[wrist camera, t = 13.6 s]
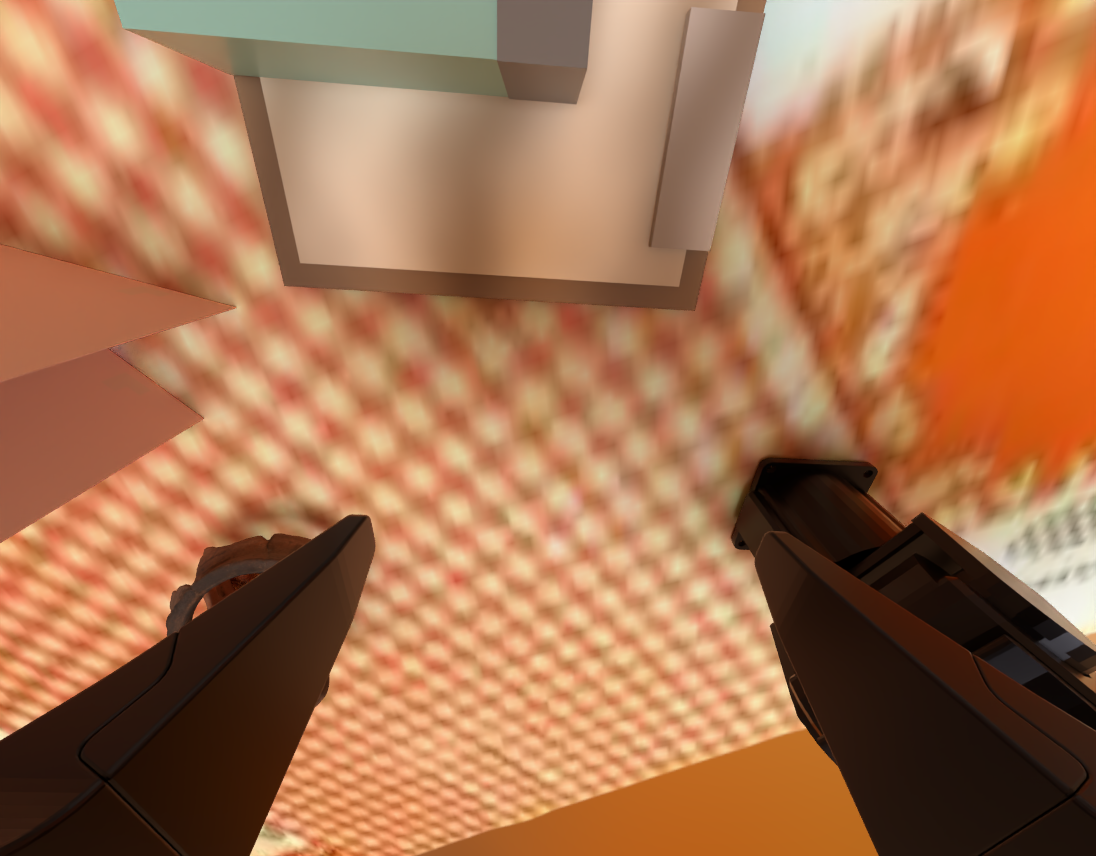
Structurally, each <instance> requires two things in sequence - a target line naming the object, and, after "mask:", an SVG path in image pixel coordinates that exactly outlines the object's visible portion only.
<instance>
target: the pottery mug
mask: <svg viewBox="0 0 1096 856" xmlns="http://www.w3.org/2000/svg"><path fill="white" fill-rule="evenodd" d="M309 541H311V539H307V538H303V537H299V536H291V535H286V534H274V535H273V536H272V537H271V539H270V540H266V539H265V538H264V537H262V536H256V537H252V538H248V539H245V540H242V541H240V542H237V543H234V544H232V545H228V546H223V547H218V548H216V547H208V548H206V549H205V550H204V553H203V556H202V558H201V559H200V562H199V565H198V568H197V573H196V578H195V581H194V583H193V584H192V586H191V585H187V584H185V585H183V586H180V587H179V588H178V589H177V591H173V593H172V596H171V601H170V609H171V613H170V614H169V616H168V617H167V620H166V627H167V636H169V635H170V634H172V633H173V632H179V629H180V628H181V627H183V626H184V625H186V624H187V623H189V622H190V621H191V620H192V618H193V614H194V611H195V609H196V607H197V605H198V603H199V602H200V600H201V599H202V598H204V600H205V603H206V605H207V610H208V609H209V608H211V607H212V606H214V605H215V604H217V603H218V602H220V601H221V600H223V599H224V598H226V597H227V596H229V595H230V594H232V593H233V592H235V591H236V590H235V588H234V587H233V585H232V582H231V580H230V579H231V578H234V577H236V576H239V575H245V574H253V573H263V572H264V571H266V570H267V569H269V568H270V567H272V566H273V565H275V564H276V563H278V562H279V561H281V560H282V559H284V558H285V557H287V556H288V555H290V554H291V553H293V552H294V551H296V550H297V549H299V548H300V547H302V546H303V545H305V544H306V543H308V542H309ZM328 687H329V676H328V678H327V680H326V683H325V685H324V687H323V690H322V692H321V694H320V696H319V699H318V701H317V703H316V706H317V705H318V704H319V703H320V702H321V700H322V699H323V698H324V697H325V695H326V694H327V691H328ZM316 706H315V707H316Z"/></svg>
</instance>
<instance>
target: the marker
mask: <svg viewBox="0 0 1096 856" xmlns="http://www.w3.org/2000/svg"><path fill="white" fill-rule="evenodd" d="M114 2H115V5H116V8H117V11H118V14H119V17H120V20H121V23H122V27H123V28H124V29H126V30H128V31H131V32H133V33H135V34H138V35H140V36H142V37H144V38H147V39H149V40H151V41H154V42H156V43H158V44H161V45H163V46H165V47H168V48H170V49H172V50H175V51H177V52H179V53H181V54H184V55H186V56H188V57H191V58H193V59H195V60H198V61H200V62H202V63H205V64H207V65H209V66H211V67H214V68H216V69H218V70H221V71H223V72H225V73H228V74H230V75H241V76H254V77H266V78H278V79H291V80H303V81H316V82H328V83H340V84H353V85H365V86H378V87H390V88H402V89H415V90H427V91H439V92H452V93H464V94H477V95H489V96H501V97H509V99H516V100H529V101H541V102H554V103H566V104H577V101H578V97H579V94H580V91H581V88H582V84H583V81H584V78H585V74H586V71H587V65H588V53H589V41H590V29H591V17H592V5H593V0H114Z"/></svg>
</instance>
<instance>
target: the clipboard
mask: <svg viewBox="0 0 1096 856" xmlns="http://www.w3.org/2000/svg"><path fill="white" fill-rule="evenodd" d="M765 4H766V0H593V5H592V17H591V29H590V41H589V53H588V65H587V71H586V74H585V78H584V81H583V84H582V88H581V91H580V94H579V97H578V101H577V104H566V103H554V102H541V101H529V100H516V99H509V97H501V96H489V95H477V94H464V93H452V92H439V91H427V90H415V89H402V88H390V87H378V86H365V85H353V84H340V83H328V82H316V81H303V80H291V79H278V78H266V77H254V76H241V75H234V79H235V83H236V87H237V91H238V95H239V99H240V103H241V108H242V112H243V116H244V120H245V124H246V128H247V133H248V137H249V141H250V145H251V149H252V153H253V157H254V162H255V166H256V170H257V174H258V178H259V182H260V187H261V191H262V195H263V199H264V203H265V207H266V211H267V216H268V220H269V224H270V228H271V232H272V236H273V241H274V245H275V249H276V253H277V257H278V261H279V265H280V270H281V274H282V278H283V282H284V286H294V287H311V288H327V289H344V290H360V291H377V292H393V293H410V294H426V295H443V296H459V297H476V298H492V299H509V300H525V301H542V302H559V303H575V304H592V305H608V306H625V307H641V308H658V309H674V310H691V311H695V308H696V303H697V299H698V295H699V290H700V286H701V282H702V277H703V273H704V268H705V264H706V260H707V255H708V251H710V250H711V245H712V241H713V237H714V232H715V228H716V224H717V219H718V215H719V211H720V207H721V202H722V198H723V194H724V189H725V185H726V181H727V176H728V172H729V168H730V163H731V159H732V155H733V151H734V146H735V142H736V138H737V133H738V129H739V125H740V120H741V116H742V112H743V107H744V103H745V99H746V94H747V90H748V86H749V82H750V77H751V73H752V69H753V64H754V60H755V56H756V51H757V47H758V43H759V38H760V34H761V30H762V26H763V21H764V17H765V13H763V12H764V8H765Z"/></svg>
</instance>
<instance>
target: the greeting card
mask: <svg viewBox="0 0 1096 856" xmlns="http://www.w3.org/2000/svg"><path fill="white" fill-rule="evenodd" d="M235 308H236V307H234V306H230V305H226V304H222V303H219V302H215V301H211V300H207V299H204V298H200V297H196V296H192V295H189V294H185V293H181V292H177V291H174V290H170V289H166V288H162V287H159V286H155V285H151V284H147V283H144V282H140V281H136V280H132V279H129V278H125V277H121V276H118V275H114V274H110V273H106V272H103V271H99V270H95V269H91V268H88V267H84V266H80V265H76V264H73V263H69V262H65V261H61V260H58V259H54V258H50V257H46V256H43V255H39V254H35V253H31V252H28V251H24V250H20V249H16V248H13V247H9V246H5V245H1V244H0V543H1V542H3V541H5V540H6V539H8V538H9V537H11V536H13V535H14V534H16V533H18V532H19V531H21V530H23V529H24V528H26V527H27V526H29V525H31V524H32V523H34V522H36V521H37V520H39V519H41V518H42V517H44V516H45V515H47V514H49V513H50V512H52V511H54V510H55V509H57V508H59V507H60V506H62V505H63V504H65V503H67V502H68V501H70V500H72V499H73V498H75V497H77V496H78V495H80V494H81V493H83V492H85V491H86V490H88V489H90V488H91V487H93V486H95V485H96V484H98V483H99V482H101V481H103V480H104V479H106V478H108V477H109V476H111V475H113V474H114V473H116V472H117V471H119V470H121V469H122V468H124V467H126V466H127V465H129V464H131V463H132V462H134V461H136V460H137V459H139V458H140V457H142V456H144V455H145V454H147V453H149V452H150V451H152V450H154V449H155V448H157V447H158V446H160V445H162V444H163V443H165V442H167V441H168V440H170V439H172V438H173V437H175V436H176V435H178V434H180V433H181V432H183V431H185V430H186V429H188V428H190V427H191V426H193V425H194V424H196V423H198V422H199V421H201V420H203V419H204V418H202V417H201V416H200V415H198V414H197V413H196V412H194V411H193V410H191V409H190V408H189V407H187V406H186V405H185V404H183V403H182V402H180V401H179V400H178V399H176V398H175V397H174V396H172V395H171V394H169V393H168V392H167V391H165V390H164V389H163V388H161V387H160V386H158V385H157V384H156V383H154V382H153V381H152V380H150V379H149V378H148V377H146V376H145V375H143V374H142V373H141V372H139V371H138V370H137V369H135V368H134V367H132V366H131V365H130V364H128V363H127V362H126V361H124V360H123V359H121V358H120V357H119V356H117V355H116V354H115V353H113V352H112V351H111V350H109V349H108V348H111V347H114V346H117V345H121V344H124V343H127V342H130V341H133V340H136V339H140V338H143V337H146V336H149V335H152V334H155V333H159V332H162V331H165V330H168V329H171V328H175V327H178V326H181V325H184V324H187V323H190V322H194V321H197V320H200V319H203V318H206V317H209V316H213V315H216V314H219V313H222V312H225V311H228V310H232V309H235Z"/></svg>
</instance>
